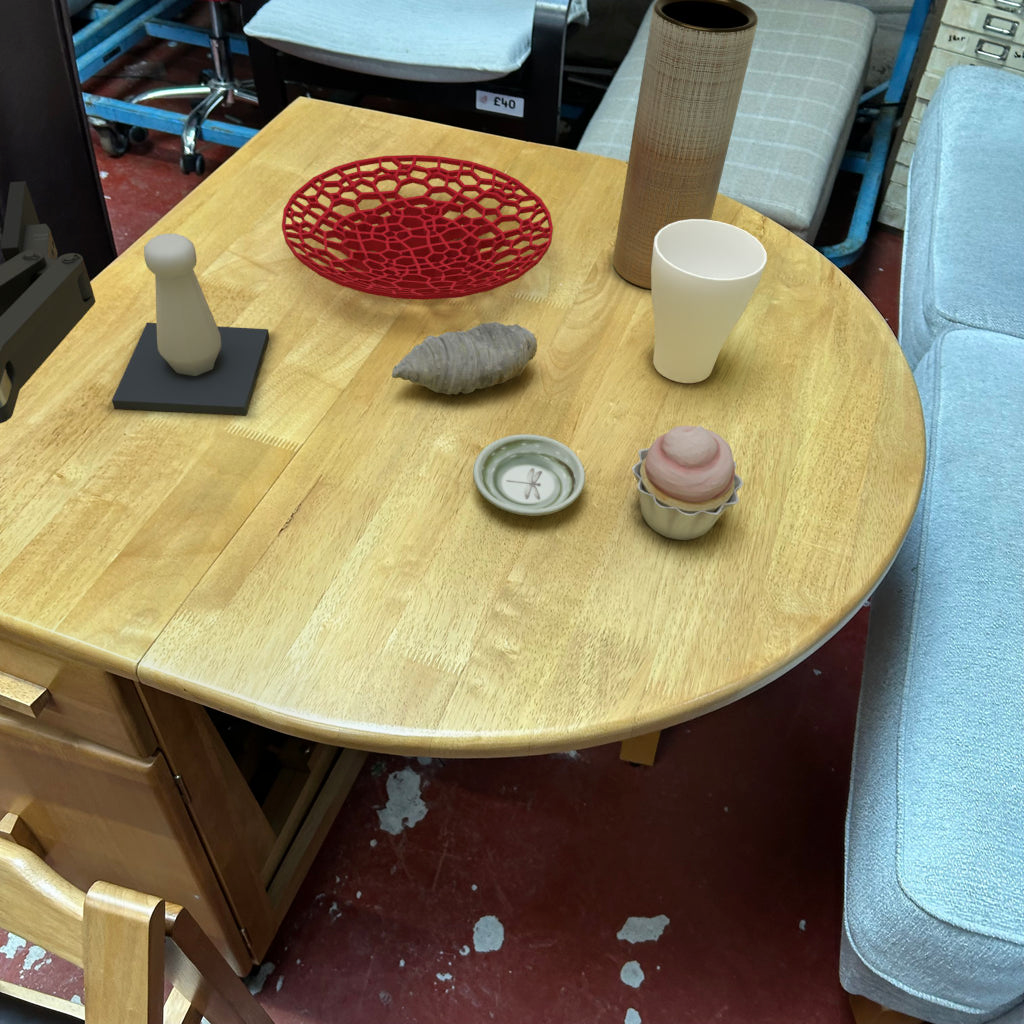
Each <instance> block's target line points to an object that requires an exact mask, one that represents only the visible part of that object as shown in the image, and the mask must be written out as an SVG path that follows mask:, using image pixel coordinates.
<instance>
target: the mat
mask: <svg viewBox="0 0 1024 1024" xmlns="http://www.w3.org/2000/svg"><path fill="white" fill-rule="evenodd" d="M217 327H218V330H219V332H220V336H221V349H220V351H219V353H218V356H217V358H216V360H215V363H214V367H213V369H211V370H209V371H207V372H204V373H202V374H200V375H197V376H192V375H186V374H179V373H177V372H176V371H175V370H174V369H173V368H172V367H171V365H170V364H169V363H168V362H167V361H166V360H165V359H164V358H163V357H162V355H161V354H160V353H159V351H158V346H157V322H146V323H145V326H144V328H143V330H142V332H141V335H140V337H139V339H138V342H137V343H136V346H135V348H134V350H133V353H132V355H131V356H130V359H129V361H128V364H127V365H126V368H125V370H124V372H123V375H122V376H121V379H120V381H119V383H118V386H117V388H116V390H115V392H114V394H113V397H112V399H111V402H112V405H113V408H114V409H116V410H117V409H118V410H136V411H137V410H138V411H158V412H175V413H194V414H195V413H196V414H215V415H217V414H219V415H237V416H247V413H248V411H249V408H250V407H249V406H250V404H251V400H252V397H253V393H254V391H255V390H254V389H255V386H256V383H257V379H258V377H259V373H260V370H261V367H262V363H263V359H264V355H265V352H266V348H267V347H268V344H269V343H268V342H269V340H270V332H269V329H268V328H256V327H255V328H253V327H235V326H234V327H233V326H220V325H219V326H218V325H217Z"/></svg>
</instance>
